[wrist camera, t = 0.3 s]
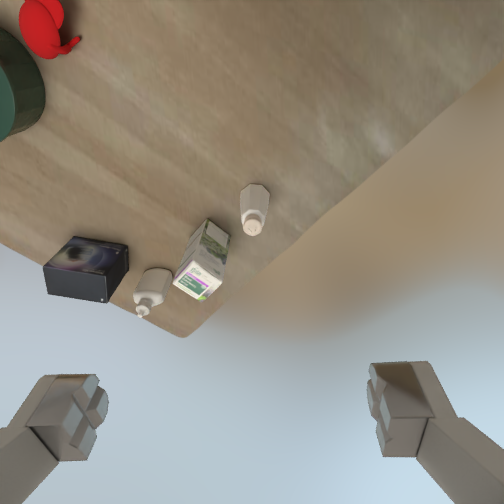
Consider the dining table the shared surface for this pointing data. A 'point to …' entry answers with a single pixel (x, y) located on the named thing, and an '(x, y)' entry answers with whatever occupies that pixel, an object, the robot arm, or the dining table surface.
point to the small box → (86, 269)
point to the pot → (22, 81)
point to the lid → (7, 104)
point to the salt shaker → (253, 208)
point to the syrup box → (203, 261)
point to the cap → (44, 27)
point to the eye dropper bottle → (151, 289)
